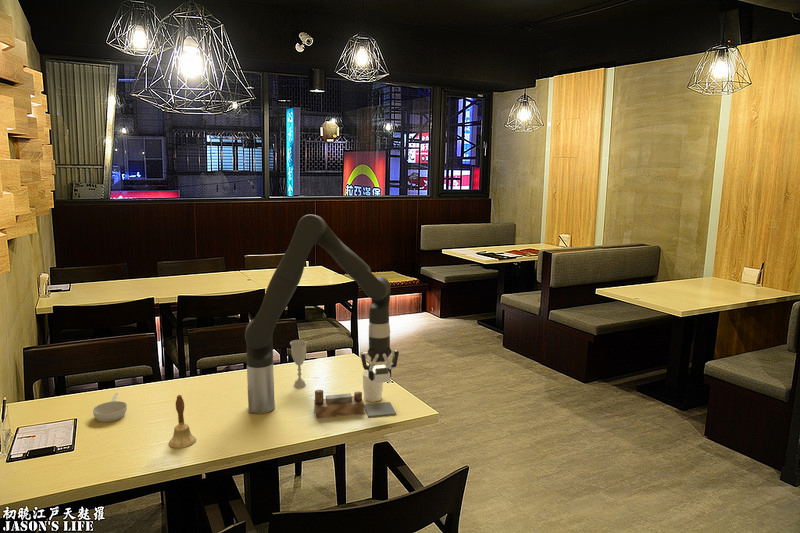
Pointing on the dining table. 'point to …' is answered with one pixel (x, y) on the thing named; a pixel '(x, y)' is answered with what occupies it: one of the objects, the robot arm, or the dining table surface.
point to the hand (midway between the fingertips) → (379, 378)
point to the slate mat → (379, 409)
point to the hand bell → (181, 429)
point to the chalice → (299, 359)
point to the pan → (110, 410)
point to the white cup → (371, 388)
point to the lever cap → (381, 374)
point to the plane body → (338, 404)
